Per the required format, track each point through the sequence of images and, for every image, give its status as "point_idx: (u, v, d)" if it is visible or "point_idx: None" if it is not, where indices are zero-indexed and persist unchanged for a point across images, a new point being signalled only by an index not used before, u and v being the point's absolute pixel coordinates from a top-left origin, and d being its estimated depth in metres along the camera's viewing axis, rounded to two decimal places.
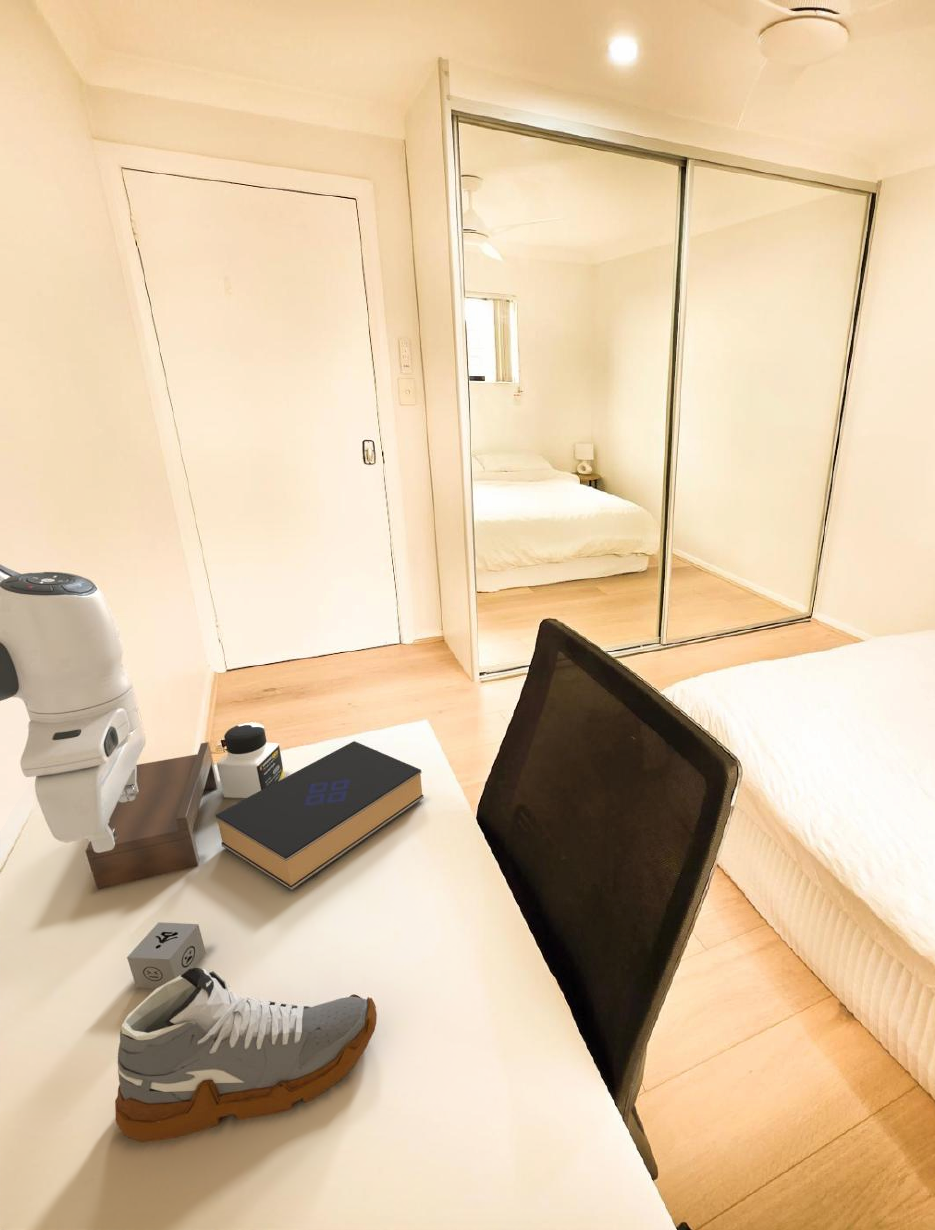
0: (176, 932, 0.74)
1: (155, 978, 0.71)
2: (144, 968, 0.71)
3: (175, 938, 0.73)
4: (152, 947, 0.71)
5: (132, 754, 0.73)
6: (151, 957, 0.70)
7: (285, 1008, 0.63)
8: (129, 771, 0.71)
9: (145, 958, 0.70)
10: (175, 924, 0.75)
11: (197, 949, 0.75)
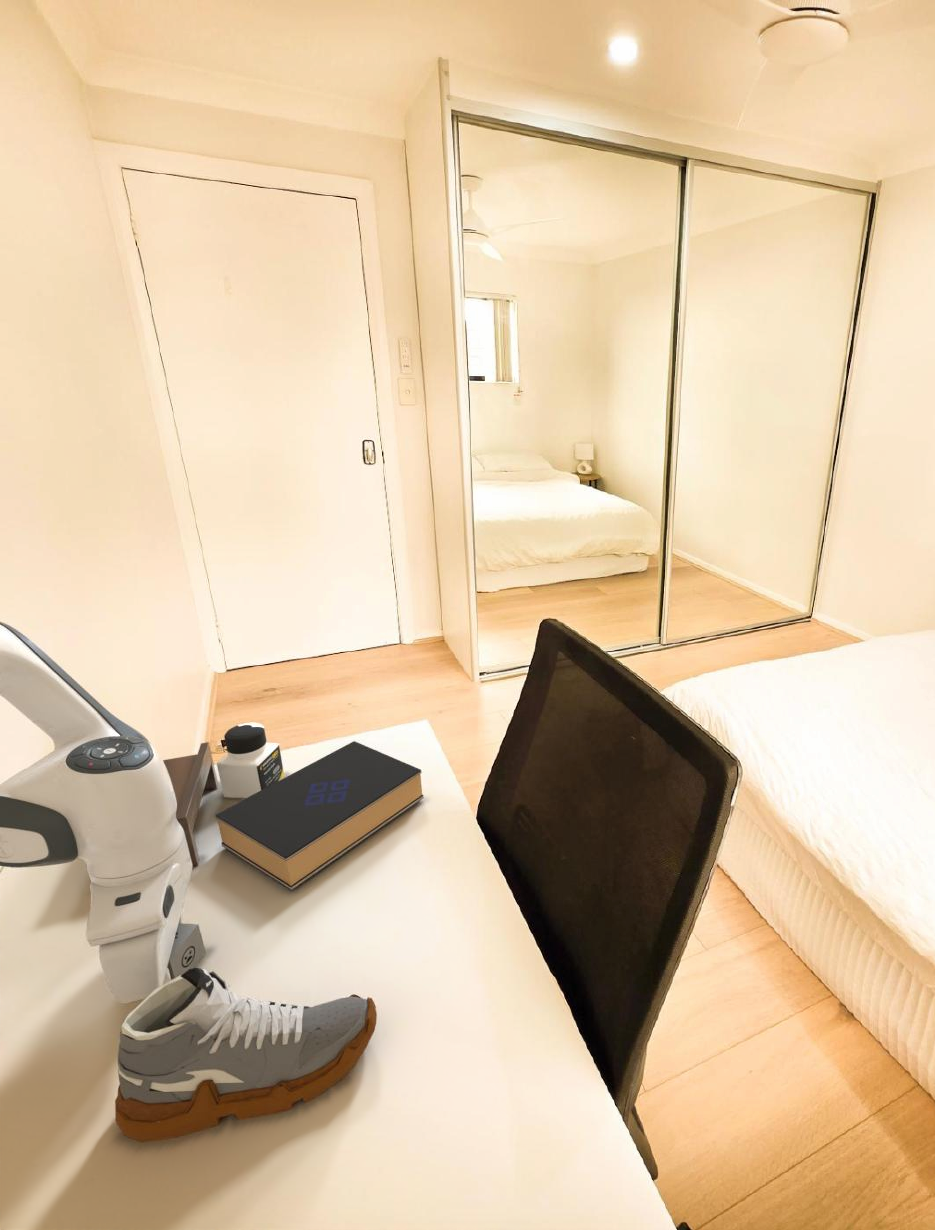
0: (176, 932, 0.74)
1: None
2: None
3: (175, 938, 0.73)
4: None
5: (181, 893, 0.75)
6: None
7: (285, 1008, 0.63)
8: (179, 912, 0.74)
9: None
10: None
11: (197, 949, 0.75)
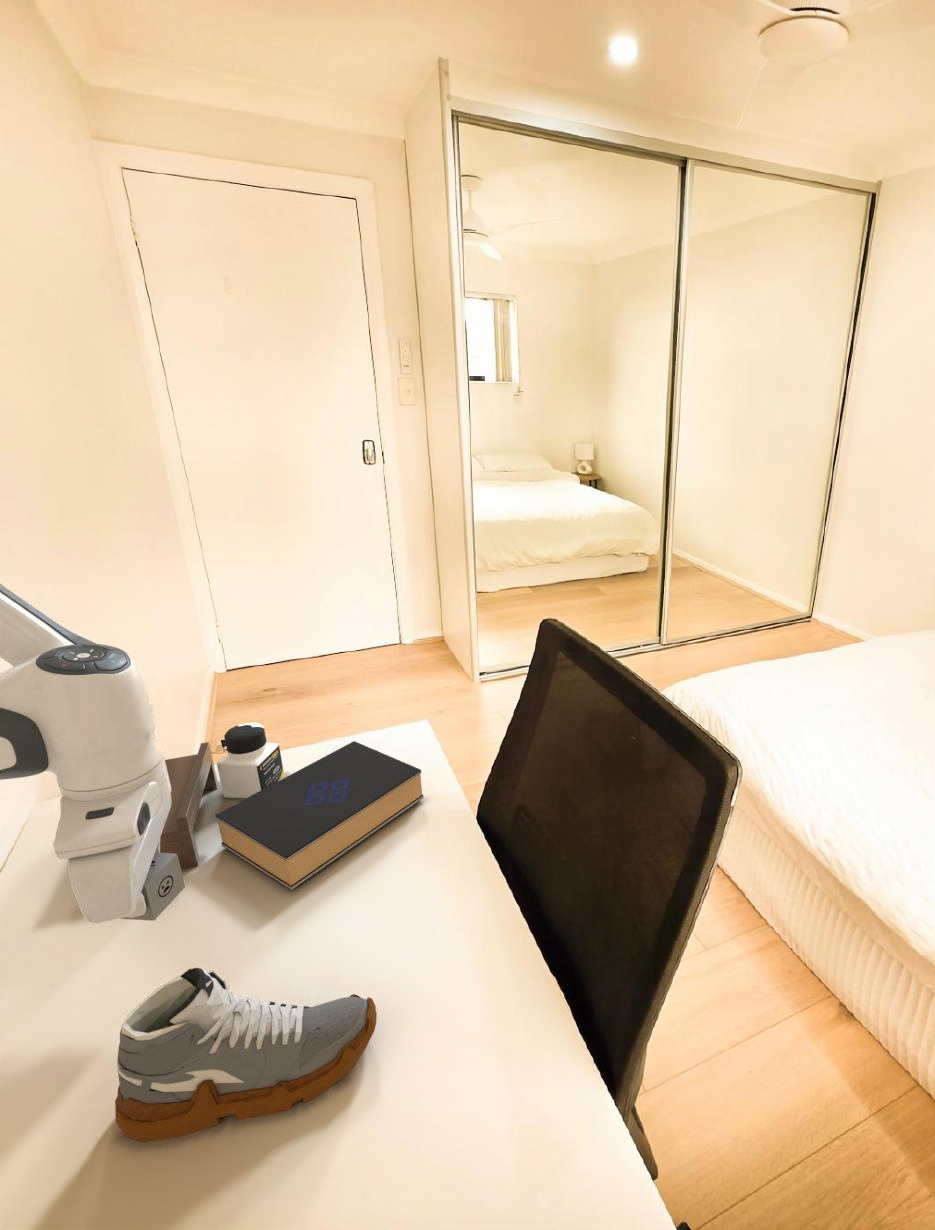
0: (153, 860, 0.70)
1: None
2: None
3: (152, 866, 0.69)
4: None
5: (160, 820, 0.71)
6: None
7: (285, 1008, 0.63)
8: (157, 839, 0.70)
9: None
10: None
11: (175, 880, 0.71)
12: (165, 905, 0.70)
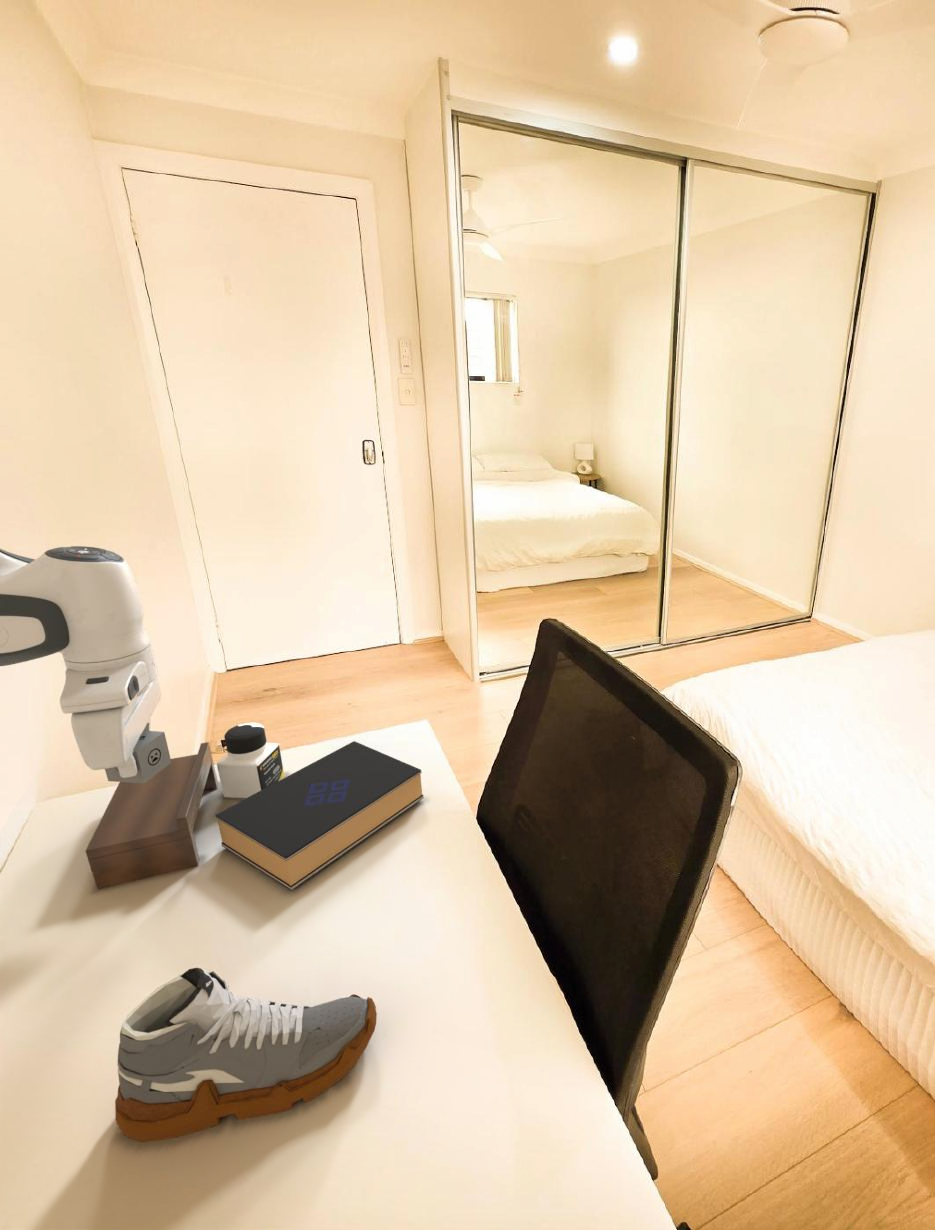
0: (144, 736, 0.83)
1: None
2: None
3: (143, 739, 0.83)
4: None
5: (149, 704, 0.85)
6: None
7: (285, 1008, 0.63)
8: (147, 718, 0.83)
9: None
10: (144, 731, 0.84)
11: (163, 754, 0.85)
12: (154, 773, 0.83)
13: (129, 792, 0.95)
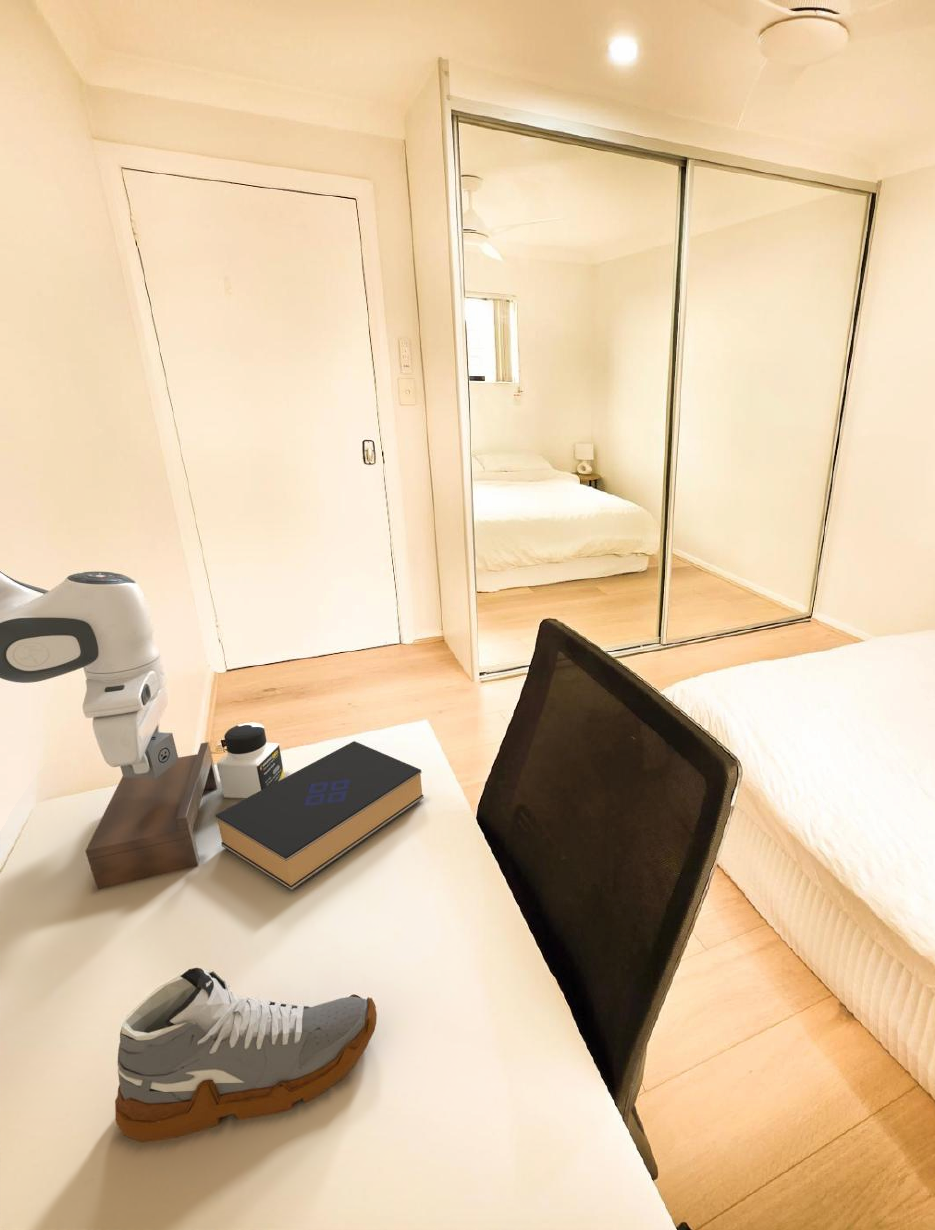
0: (154, 737, 0.94)
1: None
2: None
3: (153, 740, 0.93)
4: None
5: (158, 709, 0.95)
6: None
7: (285, 1008, 0.63)
8: (156, 721, 0.94)
9: None
10: (154, 732, 0.95)
11: (171, 752, 0.95)
12: (163, 769, 0.94)
13: (129, 792, 0.95)
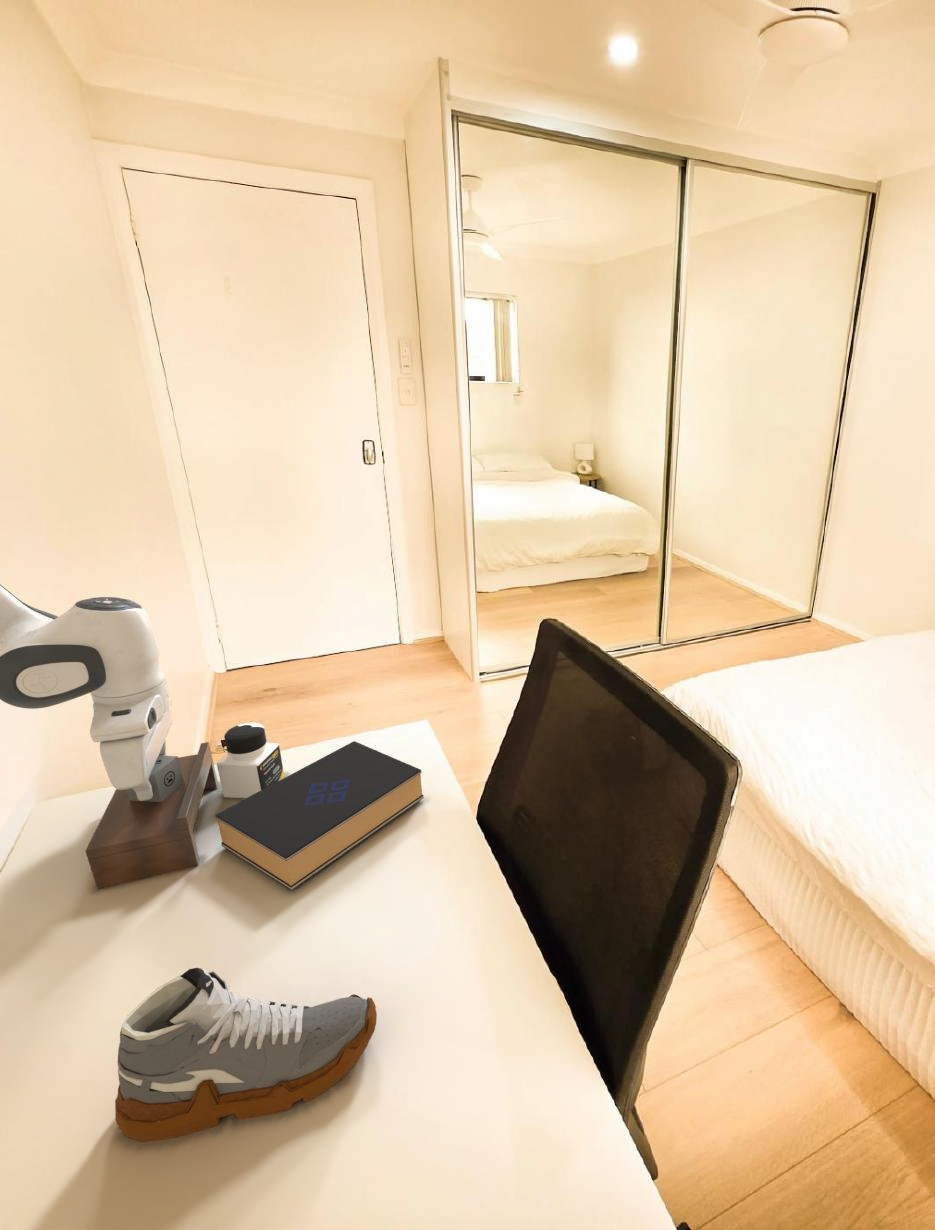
0: (160, 760, 0.95)
1: None
2: None
3: (159, 763, 0.94)
4: None
5: (163, 730, 0.97)
6: None
7: (285, 1008, 0.63)
8: (162, 742, 0.95)
9: None
10: (160, 756, 0.96)
11: (176, 775, 0.96)
12: (169, 792, 0.95)
13: None
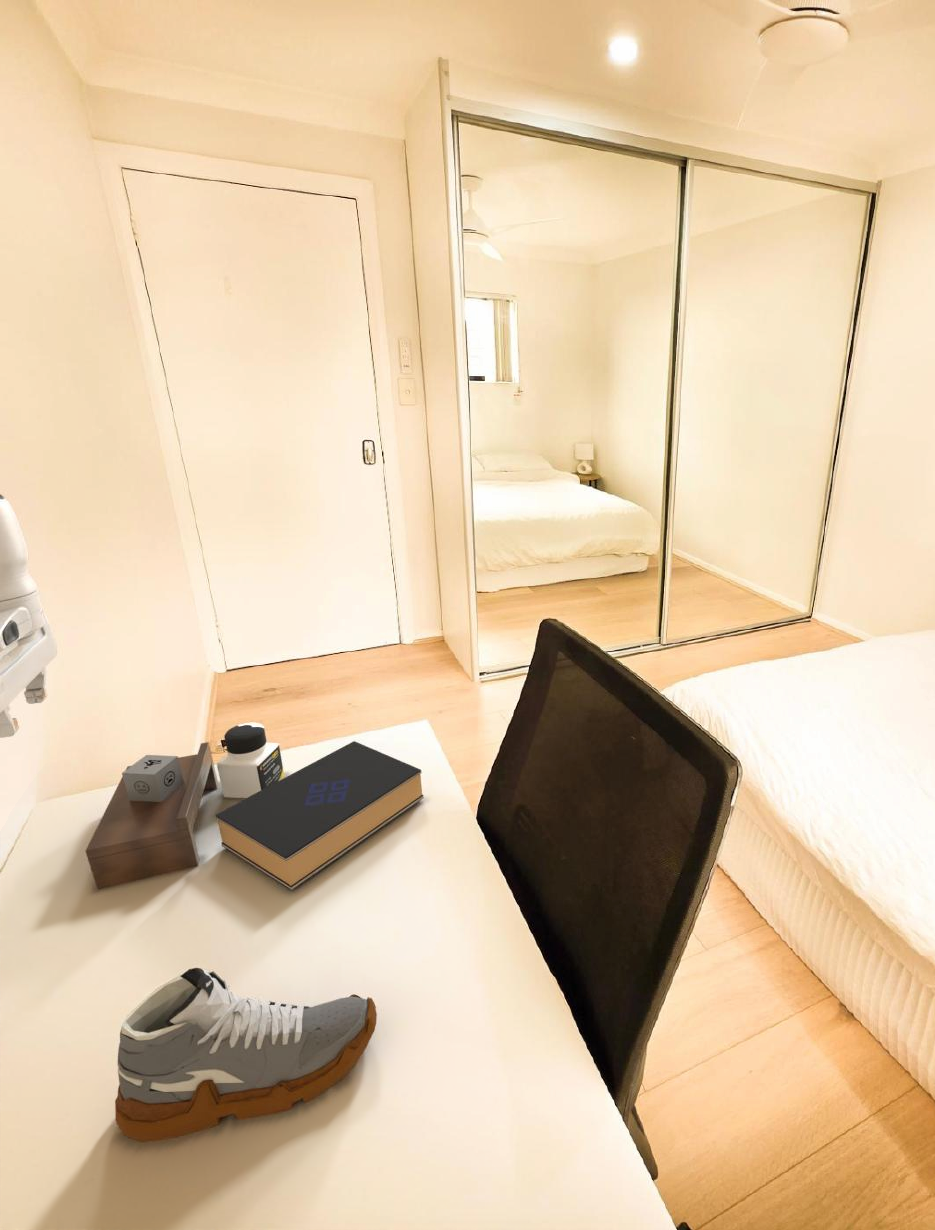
0: (160, 760, 0.95)
1: (143, 791, 0.93)
2: (135, 782, 0.92)
3: (159, 763, 0.94)
4: (141, 768, 0.93)
5: (39, 658, 0.80)
6: (140, 773, 0.92)
7: (285, 1008, 0.63)
8: (35, 671, 0.79)
9: (135, 773, 0.92)
10: (159, 756, 0.96)
11: (176, 775, 0.96)
12: (169, 792, 0.95)
13: None
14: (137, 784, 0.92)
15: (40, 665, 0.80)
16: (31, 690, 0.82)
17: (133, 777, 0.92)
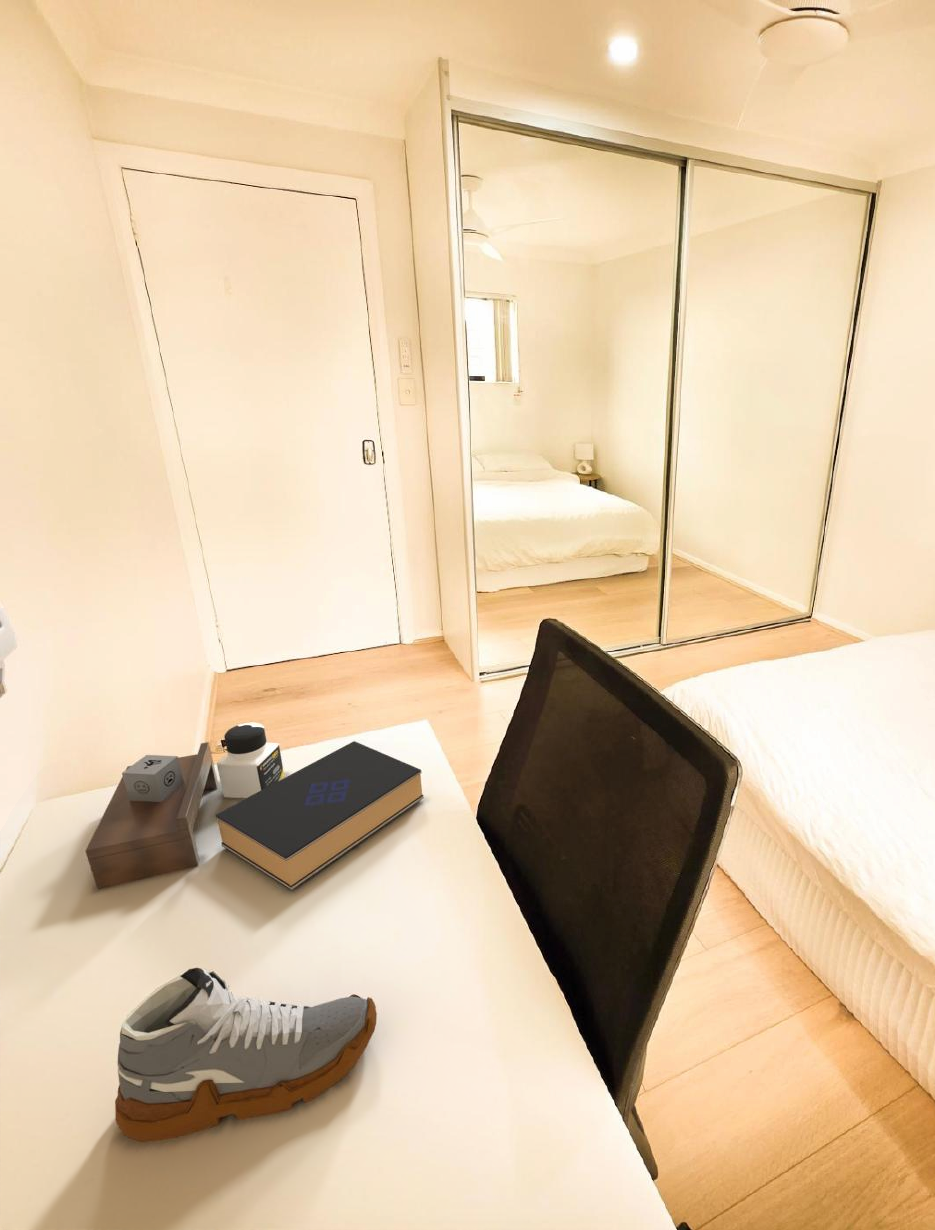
0: (160, 760, 0.95)
1: (143, 791, 0.93)
2: (135, 782, 0.92)
3: (159, 763, 0.94)
4: (141, 768, 0.93)
5: None
6: (140, 773, 0.92)
7: (285, 1008, 0.63)
8: None
9: (135, 773, 0.92)
10: (159, 756, 0.96)
11: (176, 775, 0.96)
12: (169, 792, 0.95)
13: None
14: (137, 784, 0.92)
15: None
16: None
17: (133, 777, 0.92)
